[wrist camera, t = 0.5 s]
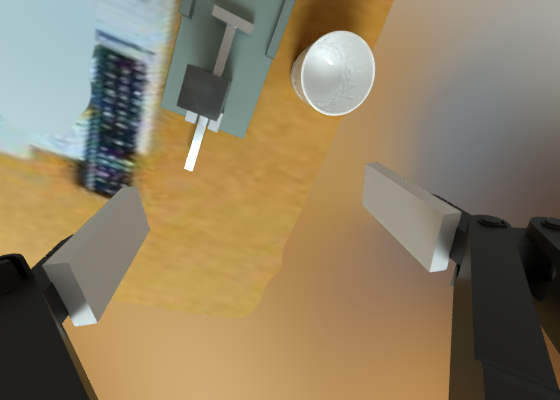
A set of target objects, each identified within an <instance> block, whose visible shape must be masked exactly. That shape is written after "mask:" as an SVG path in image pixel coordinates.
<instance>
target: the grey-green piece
mask: <svg viewBox="0 0 560 400" xmlns="http://www.w3.org/2000/svg"><path fill="white" fill-rule="evenodd" d="M295 1H296V0H181V4H180V9H179V12H180V13H181V15H182V20H181V24H180V28H179V32H178V36H177V40H176V44H175V48H174V52H173V57H172V61H171V65H170V69H169V73H168V77H167V81H166V85H165V89H164V94H163V98H162V102H161V106H160V107H162V108H165V109H167V110H170V111H173V112H175V113H178V114H180V115H183V116H185V117H186V118H185V120H186V121H188V122H191V123H193V124H195V123H196V122H197V121H199V118H200V115H198V114H196V113H193V112H191V111H188V110H186V109H183V108H181V107H178V106H176V105H177V102H178V98H179V94H180V90H181V86H182V83H183V79H184V75H185V71H186V67H187V64H191V65H195V66H198V67H201V68H204V69H207V70H209V71H211V72H213V71H214V68H215V64H216V61H217V57H218V54H219V51H220V47H221V44H222V41H223V37H224V34H225V31H226V27H227V26H225V25H223V24H221V23H219V22H217V21H215V20H214V19H213V17H212V11H213V8H214V4H215V5H217V6H219V7H220V8H222V9H224V10H226V11H228V12H230V13H232V14H234V15H236V16H238V17H240V18H242V19H244V20H246V21H248V22H249V23H251V24H253V25H254V28H253V31H252V34H251V37H250V38H249V37H247V36H245V35H243V34H241V33H239V32H237V31H236V33H235V36H234V39H233V42H232V46H231V49H230V52H229V55H228V58H227V62H226V65H225V68H224V71H223V75H222V77H224V78H227V79H229V80H231V81H232V84H231V87H230V90H229V93H228V96H227V99H226V103H225V106H224V109H223V111H222V113H221V114H220V116H219V118H218V120H217V122H216V121H214V120H211V119H209V120H208V123H207V125H209V126H208V129H209V130H212V131H214V132H218V129H219V130H222V131H224V132H227V133H229V134H232V135H235V136H237V137H240V138H242V139H244V136H245V133H246V130H247V128H248V125H249V122H250V120H251V117H252V114H253V111H254V109H255V106H256V103H257V100H258V98H259V95H260V92H261V89H262V87H263V84H264V81H265V78H266V76H267V73H268V70H269V68H270V65H271V62H272V60H273V59H274V58H275V55H276V52H277V50H278V47H279V44H280V42H281V39H282V36H283V33H284V31H285V28H286V25H287V22H288V20H289V17H290V14H291V12H292V9H293V6H294V3H295Z"/></svg>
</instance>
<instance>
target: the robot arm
mask: <svg viewBox="0 0 560 400" xmlns="http://www.w3.org/2000/svg"><path fill="white" fill-rule="evenodd" d="M362 205H363V206H364V207H365V208H366V209H367V210H368V211H369V212H370V213H371V214H372V215H373V216H374V217H375V218H376V219H377V220H378V221H379V222H380V223H381V224H382V225H383V226H384V227H385V228H386V229H387V230H388V231H389V232H390V233H391V234H392V235H393V236H394V237H395V238H396V239H397V240H398V241H399V242H400V243H401V244H402V245H403V246H404V247H405V248H406V249H407V250H408V251H409V252H410V253H411V254H412V255H413V256H414V257H415V258H416V259H417V260H418V261H419V262H420V263H421V264H422V265H423V266H424V267H425V268H426V269H427V270H428V271H429V272H434V271H441V270H446V268H447V265H448V261H449V258H451V259H452V260H454V261H455V262H456V263H457V264H456V267H455V271H454V274H453V278H452V281H451V285H452V286H454V291H453V314H452V336H451V358H450V379H449V380H450V381H449V400H560V390H559V388H558V384H557V381H556V378H555V374H554V371H553V367H552V364H551V360H550V357H549V354H548V350H547V347H546V343H545V340H544V337H543V333H542V330H541V327H540V325H541V326H542V328H543V329H544V331H545V333H546V334H547V336H548V337H549V339H550V340H551V342H552V343H553V345H554V346H555V348H556V350H557V351H558V353H559V354H560V219H556V218H551V217H550V218H547V217H534V218H531V220H530V222H529V224H528V227H527V228H512V227H511V226H510V224H509V223H507V222H506V221H504V220H502V219H500V218H497V217H493V216H489V215H473V216H472V215H470V214H469V213H467V212H465V211H463V210H462V209H460V208H458V207H457V206H455V205H454V206H453V204H451V203H450V202H447V201H446V200H445V199H443V198H441V197H439V196H437V195H434V194H431V193H429V192H427V191H425V190H424V189H422V188H420V187H418V186H417V185H415V184H414V183H412V182H410V181H408V180H407V179H405V178H403V177H402V176H400V175H398V174H397V173H395V172H393V171H392V170H390V169H388V168H386V167H385V166H383V165H382V164H380V163H378V162H376V163H366V168H365V180H364V190H363V202H362ZM149 231H150V228H149V224H148V221H147V218H146V214H145V211H144V208H143V205H142V201H141V198H140V195H139V191H138V188H137V186H135V187H125V188H121V189H120V190H119V191H118V192H117V193H116V194H115V195H114V196H113V197H112V198H111V199H110V200H109V201H108V202H107V203H106V204H105V205H104V206H103V207H102V208H101V209H100V210H99V211H98V212H97V213H96V214H95V215H94V216H93V217H92V218H91V219H89V220H88V221H87V222H86V223H85V224H84V225H83V226H82V227H81V228H80V229H79V230H78V231H77V232H76V233H75V234H73V235H71V236H69V237H67V238H66V239H64V240H62V241H61V242H60V243H58V244H57V245H56V246H55V247H54V248H53V249H52V251H50V252H49V253H48V254H47V255H46V257H43V258H42V259H41V260H40V261H39V262H38V263H37V264H36V265H35V266H34V267H33V268H32V269H30V267H29V266H28V264H27V262H26V260H25V259H24V257H23V256H22V255H21V254H7V255H2V256H0V400H98V398H97V396H96V394H95V392H94V390H93V388H92V386H91V383H90V381H89V380H88V377H87V375H86V373H85V371H84V369H83V366H82V365H81V362H80V360H79V358H78V356H77V354H76V352H75V350H74V347H73V345H72V343H71V341H70V339H69V337H68V335H67V333H66V331H65V329H64V328H63V325H62V323H63V321H64V320H65V319H66V317H67V316H68V315H69V316H70V318H71V320H72V322H73V324H74V326H81V325H88V324H94V323H98V321H99V319H100V318H101V316H102V314H103V312H104V311H105V309H106V307H107V305H108V304H109V302H110V300H111V298H112V296H113V295H114V293H115V291H116V289H117V288H118V286H119V284H120V282H121V280H122V279H123V277H124V275H125V273H126V272H127V270H128V268H129V266H130V264H131V263H132V261H133V259H134V257H135V256H136V254H137V252H138V250H139V248H140V247H141V245H142V243H143V241H144V240H145V238H146V236H147V234H148V233H149Z"/></svg>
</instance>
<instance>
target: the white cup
mask: <svg viewBox="0 0 560 400" xmlns="http://www.w3.org/2000/svg"><path fill="white" fill-rule="evenodd" d="M374 77H375V62H374V57H373V54H372V51H371V49H370V47H369V46H368V44H367V43H366V42H365V41H364V40H363V39H362V38H361V37H360V36H358V35H356V34H355V33H352V32H349V31H334V32H330V33H328V34H326V35H324V36H322V37H321V38H319V39H318V40H316V41H315V42H314V43H312V44H311V45H309V46H308V47H307V48H306V49H305V50H304V51H303V52H302V53H301V54H300V55H299V56H298V57H297V59H296V60H295V61H294V62H293V66H292V69H291V73H290V79H291V86H292V88H293V90H294V91H295V93H296V95H297V96H298V97H299V98H300V99H301V100H303V101H304V102H305V103H306V104H308V105H310V106H311V107H313V108H314V109H316V110H318V111H319V112H321V113H324V114H327V115H342V114H346V113H348V112H350V111H352V110H354V109H355V108H357V107H358V106H359V105H360V104H361V103H362V102H363V101H364V100H365V98H366V97H367V96H368V94H369V92H370V90H371V87H372V85H373V82H374Z"/></svg>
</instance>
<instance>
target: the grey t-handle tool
mask: <svg viewBox="0 0 560 400" xmlns="http://www.w3.org/2000/svg"><path fill="white" fill-rule="evenodd" d="M212 17H213V19H214V20H215V21H217V22H219V23H221V24H223V25H225V26H227V27H226V31H225V34H224V37H223V41H222V44H221V47H220V51H219V54H218V57H217V61H216V64H215V68H214V71H213V72H211V71H209V70H207V69H204V68H201V67H198V66H195V65H191V64H187V67H186V71H185V75H184V79H183V83H182V86H181V90H180V94H179V98H178V102H177V105H176V106H178V107H181V108H183V109H186V110H188V111H191V112H193V113H196V114H198V115H200V118H199V121H198V125H197V128H196V131H195V135H194V138H193V141H192V145H191V148H190V151H189V155H188V158H187V161H186V165H185V169H188V170H191V171H192V170H193V168H194V165H195V162H196V158H197V155H198V152H199V149H200V145H201V142H202V139H203V136H204V133H205V129H206V126H207V123H208V120H209V119H211V120H214V121H216V122H217V120H218V118H219V116H220V114H221V113H222V111H223V109H224V106H225V103H226V99H227V96H228V93H229V90H230V87H231V84H232V81H231V80H229V79H227V78H224V77H222V75H223V71H224V68H225V65H226V62H227V58H228V55H229V52H230V49H231V46H232V42H233V39H234V36H235V33H236V31H237V32H239V33H241V34H243V35H245V36H247V37H249V38H250V37H251V34H252V31H253V28H254V25H253V24H251V23H249V22H248V21H246V20H244V19H242V18H240V17H238V16H236V15H234V14H232V13H230V12H228V11H226V10H224V9H222V8H220V7H219V6H217V5H215V4H214V8H213V11H212Z"/></svg>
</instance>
